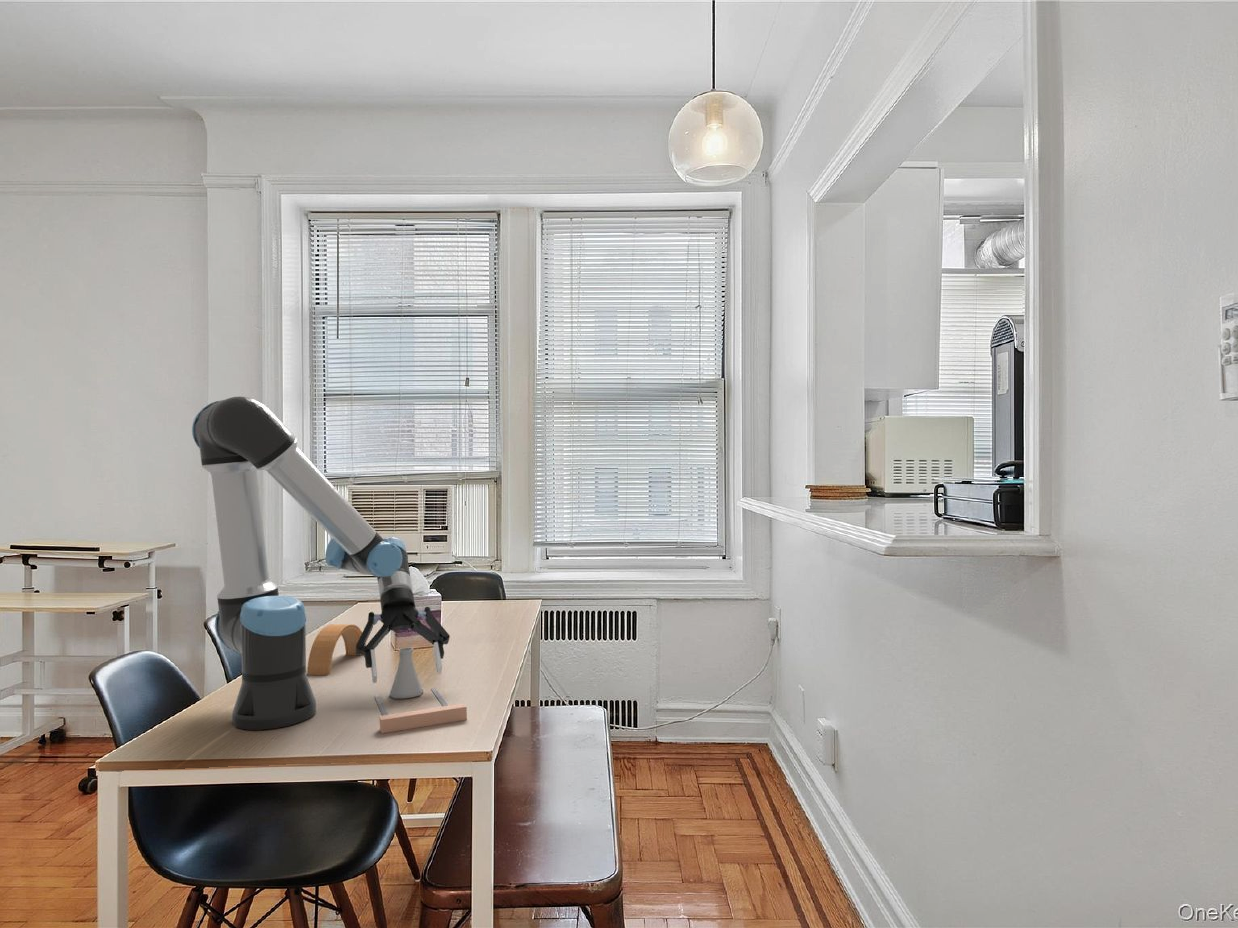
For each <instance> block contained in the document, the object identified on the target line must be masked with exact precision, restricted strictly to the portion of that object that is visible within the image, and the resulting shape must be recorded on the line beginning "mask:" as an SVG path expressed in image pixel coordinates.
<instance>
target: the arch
mask: <svg viewBox="0 0 1238 928" xmlns="http://www.w3.org/2000/svg"><path fill="white" fill-rule="evenodd" d="M362 632H363V631H362V630H361V628H360V627H359V626H358V625H356V624H328V625H326V626H324V627H323V628H321V630H320V631H319V632H318V633H317V635H316V637H315V639H314V641H313V643H312V646H311V649H310V652H309V655H308V656H309V657H308V661H307V669H306V675H321V676H322V675H329V676H330V675H331V671H332V660H333V655H334V651H335V647H336V645H337V642H338V641H339V639H340V637H341V638H342V640H343V643H344V647H345V655H347V656H364V655H363V654H359V655H357V654H356V653H355V650H356V645H357V643H358V640H359V638H360V636H361V634H362ZM366 645H367V642H366V643H365V645H364V646H366Z"/></svg>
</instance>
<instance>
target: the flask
mask: <svg viewBox="0 0 1238 928" xmlns="http://www.w3.org/2000/svg"><path fill="white" fill-rule="evenodd" d="M397 652H398V654H399V662H398V667H397V670H396V674H395V678H394V681H393V683H392V686H391V688H390V692H389V695H388V696H389V697H391V698H392V699H395V700H396V699H397V700H398V699H409V698H410V699H411V698H415V697H419V696H422V694H423V693H424V688H423V687H422V684H421V681H420V680H419V679H420V678H419V677H418V673H417V672H416V669H415V666H414V660H413V652H414V648H413V647H412V646H411V647H409V646H408V647H402V648H399V649H398V650H397Z"/></svg>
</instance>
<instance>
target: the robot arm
mask: <svg viewBox="0 0 1238 928" xmlns="http://www.w3.org/2000/svg"><path fill="white" fill-rule="evenodd" d="M191 432H192V439H193V441H194V443H195V445H196V446H197V447H198V449H199V454H200V461H201V462H200V463H201V467H202V468H203V469H204V470H206V471H207V472H208V473H209V474H210V475H211V485H212V491H213V492H212V493H213V500H214V509H215V510H214V511H215V516H216V517H215V519H216V525H217V526H216V527H217V534H218V535H217V536H218V543H219V552H220V559H221V560H220V561H221V569H222V570H221V571H222V576H223V585H224V586H223V588H222V589H221V590H220V591H219V592H218V594H217V595H216V596H217V605H218V611H217V613H216V616H215V620H214V627H215V628H214V629H215V633H216V636H217V637H218V639H219V640H220V642H221V643H222V644H223V645H224V646H225V647H226V648H227V649H229V650H231V651H233V652H235V653H239V654H241V686H240V687H239V692H238V693H237V694H238V695H237V698H236V700H235V704H234V706H233V710H232V715H231V716H232V719H231V720H232V722H231V723H232V725H233V727H234V728H236V729H241V730H247V731H248V730H249V731H259V730H260V731H262V730H263V731H264V730H272V729H278V728H284V727H288V726H292V725H295V724H298V723H301V722H304V721H307V720H309V719H310V718H312V717H313V716H314V715H315V714H317V713H316V712H317V703H316V702H317V701H316V698H315V695H314V692H313V690H312V686H311V684H310V682H309V679H308V676H307V659H306V658H307V645H306V644H307V642H306V641H307V640H306V637H307V636H306V635H307V633H306V632H307V631H306V627H307V626H306V622H307V616H306V615H307V614H306V611H305V609H306V608H305V605H304V603H303V602H302V600H300V599H298V598H296V597H293V596H284V595H279V587H278V585H277V584H276V583H275V582H273V581H272V580H271V579H270V576H269V569H268V568H269V567H268V557H267V550H266V549H267V548H266V540H265V529H264V521H263V514H262V506H261V505H262V504H261V498H260V497H261V496H260V488H259V479H258V472H257V471H265V472H267V473H268V474H269V475H270V476H271V477H272V478H273V479H274V480H275V481H276V482H277V484H278V485H280V486H281V487H282V489H284V490H285V491H286V493H288V494H289V495H290V496H291V498H292V499H294V501H295V502H297V503H298V504H299V505H300V507H301V508H303V510H305V512H306V513H307V514H308V515H309V516H310V517H311V518H312V519H314V521H315V522H316V523H317V524H318V525H319V526H320V527H321V528H322V529H323V530H324V531H325V532H326V533H327V534H328V535H329V536H330V537H331V539H330V540H329V542H328V544H327V546H326V550H325V555H324V559H325V562H326V564H327V565H328V566H329V567H333V568H336V569H339V570H340V569H342V570H345V571H350V572H355V573H361V574H366V575H370V576H374V578H375V577H376V578H377V579H376V580H377V585H378V593H379V594H378V595H379V602H380V610H381V613H380V614H379V613H378V614H377V613H376V614H375V613H374V612H373V611H369V613H368V617H367V622H366V624H365V626H364V628H363V631H362V634H361V636H360V638H359V640H358V643H357V645H356V650H355V653H356V654H357V655H356V656H360V655H359V654H363V655H362V656H363V657H364V662H365V663H364V665H365V667H366V669H371V670H370V671H371V679H372V684H375V683H377V682H378V681H377V680H378V668H377V660H376V659H377V658H376V653H375V649H376V648H377V647H378V645H379V644H380V643H381V641H383V639H384V638H385V637H386V636H387V635H388V634H389V633H390V632H391V631H392V632H394V633H395V632H396V633H397V632H400V631H404V632H406V631H408V630H411V631H412V632H414V633H416V634H418V635H420V636H421V637H423V639H425V640H427V641H428V642H429V643H431V644H432V645H433V646H432V652H433V657H434V663H435V670H436V674H437V675H441V674H442V670H443V663H442V659H444V656H445V650H444V645H448V644H449V641H450V637H451V636H450V633H448V632H447V630H446V629H445V627H443V626H442V624H441V623H440V622H439V621H438V619H437V618H436V617H435V616H434V615H433V613H432V610H431V608H430V607H429V606H425V607H424V609H420V610H418V609H417V608H416V603H415V596H414V592H413V585H412V580H411V573H410V565H409V560H408V559H409V556H408V552H407V549H406V545H405V544H404V542H403V541H402V540H401V539H399V538H397V537H392V536H391V537H390V538H388V537H384V538H383V537H382V535H380V533H378V532H377V531H376V530H375V529H374V528H373V527H372V525H371V524H370V523H369V522H368V521H367V520H366V519H365V518H364V517H363V516H362V515H361V513H359V511H357V509H356V508H355V507H354V506H353V505H352V504H351V503H350V502H349V501H348V499H347V498H345V497H344V495H343V494H342V493H341V492H340V491H339V490H338V489H337V488H336V487H335V486H334V484H332V482H331V481H330V480H329V479H328V478H327V477H326V475H324V474H323V473H322V472H321V471H320V470H319V468H318V467H317V466H316V465H315V464H314V463H313V462H312V461H311V460H310V459H309V458H308V457H307V456H306V454H305V453H304V452H303V451H302V450H301V449H300V448H299V447H298V438H297V437H296V436H295V435H294V434H293V433H292V432H291V431H290V430H289V428H287V426H286V425H285V424H284V423H283V422H282V420H280V419H279V417H278V416H276V414H274V413H273V412H272V410H271V409H270V408H269V407H267V406H266V405H265V404H264V403H262V402H260V401H259V400H256V399H254V398H251V397H246V396H233V397H229V398H226V399H221V400H216V401H214V402H211V403H209V404H207V405H206V406H204V407H203V408H201V410H200V411H199V412H198V413H197V414H196V416H195V417H194V420H193V423H192V426H191ZM419 617H420V618H421V619H422V620H423V621H425V623H426V624H427V625H428V626H426V625H425V624H423V623H422V621H421V620H419ZM379 621H380V623H382V626H381V627H380V628H379V630H378V631H377V632H376V633H375V635H374V636H372V637H371V639H369V640H370V641H369V642H367V641H368V638H369V637H370V635H371V632H372V631H373V628H374V626H375V625H377V624H378V622H379ZM429 627H430V628H429ZM365 643H366V646H364V645H365Z"/></svg>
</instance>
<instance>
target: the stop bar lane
mask: <svg viewBox="0 0 1238 928" xmlns="http://www.w3.org/2000/svg"><path fill="white" fill-rule="evenodd" d="M430 690H431V691H432V693H433V694H434V696H435V697H436V699H437V700H438V701H439V703H440V704H441V705H442V706H437V707H429V708H423V709H418V710H411V711H405V712H397V713H392V714H388V711H387V709H386V707H385V705H384V703H383V701H382V699H381V696H379V695H377V696H374V699H375V701H376V703H377V706H378V708H379V710H380V712H381V715H379V731H380V733H381V734H386V733H392V732H399V731H405V730H412V729H416V728H417V729H418V728H423V727H429V726H430V727H431V726H436V725H442V724H448V723H453V722H460V721H466V720H468V719H467V718H468V717H467V715H468V712H467V709H468V708H467V705H466V704H465V703H457V704H448V703H447V702H446V701H445V699H444V698H443V696H442V695H441V694H440V692H439V691H438V690H437V688H436V687H435V688H430Z"/></svg>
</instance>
